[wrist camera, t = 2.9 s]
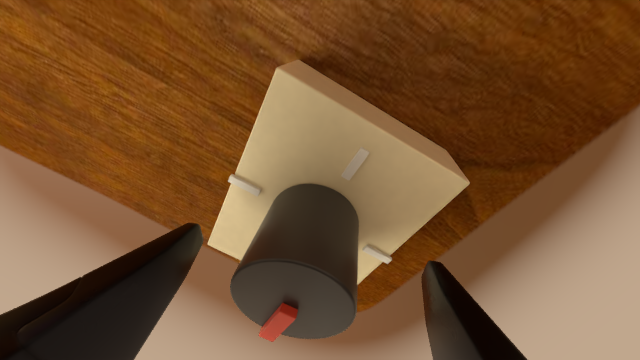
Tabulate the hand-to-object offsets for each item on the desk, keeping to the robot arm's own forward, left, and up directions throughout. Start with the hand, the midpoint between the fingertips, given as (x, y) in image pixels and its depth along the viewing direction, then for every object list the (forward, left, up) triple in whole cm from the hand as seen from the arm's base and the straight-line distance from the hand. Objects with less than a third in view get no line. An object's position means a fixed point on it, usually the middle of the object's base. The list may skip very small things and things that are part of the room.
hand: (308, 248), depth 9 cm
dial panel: (0, 0, -5) cm, 5 cm away
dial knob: (0, 0, -2) cm, 2 cm away
